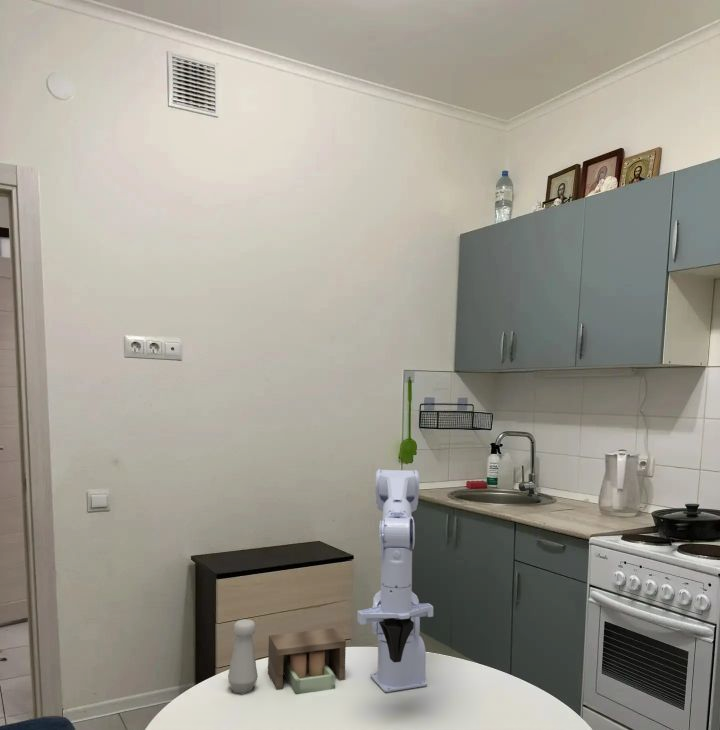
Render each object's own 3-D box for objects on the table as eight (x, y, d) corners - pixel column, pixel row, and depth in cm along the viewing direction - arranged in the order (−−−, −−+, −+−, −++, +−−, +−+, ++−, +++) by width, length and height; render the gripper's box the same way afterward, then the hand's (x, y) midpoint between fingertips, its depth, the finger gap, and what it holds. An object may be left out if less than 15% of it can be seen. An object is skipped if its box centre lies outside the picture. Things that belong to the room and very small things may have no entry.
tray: (321, 670, 129) (321, 645, 129) (334, 688, 120) (335, 661, 121) (284, 675, 126) (285, 649, 126) (295, 694, 117) (296, 666, 118)
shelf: (332, 664, 132) (333, 628, 132) (345, 679, 124) (345, 641, 125) (267, 673, 127) (268, 635, 127) (276, 689, 119) (277, 649, 120)
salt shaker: (250, 697, 116) (252, 627, 117) (222, 694, 117) (225, 625, 118) (261, 684, 121) (263, 617, 123) (234, 681, 123) (236, 615, 124)
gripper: (368, 593, 105) (366, 674, 104) (441, 586, 110) (441, 663, 109) (353, 582, 111) (352, 658, 110) (423, 576, 117) (423, 649, 116)
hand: (395, 660), depth 110 cm, fingers closed
